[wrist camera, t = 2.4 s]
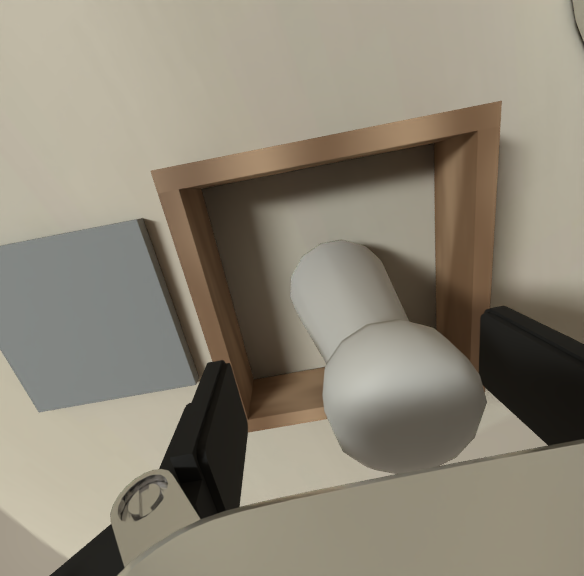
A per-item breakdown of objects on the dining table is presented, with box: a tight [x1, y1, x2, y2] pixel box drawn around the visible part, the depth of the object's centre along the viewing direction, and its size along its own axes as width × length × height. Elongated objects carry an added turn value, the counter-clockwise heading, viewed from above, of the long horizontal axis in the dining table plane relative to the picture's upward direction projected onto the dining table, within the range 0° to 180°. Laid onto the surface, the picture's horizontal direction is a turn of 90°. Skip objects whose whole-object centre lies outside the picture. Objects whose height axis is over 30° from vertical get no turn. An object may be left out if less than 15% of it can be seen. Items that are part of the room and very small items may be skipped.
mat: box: [0, 218, 199, 412], centre depth 19 cm, size 12×12×1 cm
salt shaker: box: [290, 240, 487, 474], centre depth 13 cm, size 6×6×13 cm
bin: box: [151, 101, 502, 432], centre depth 17 cm, size 16×16×4 cm
